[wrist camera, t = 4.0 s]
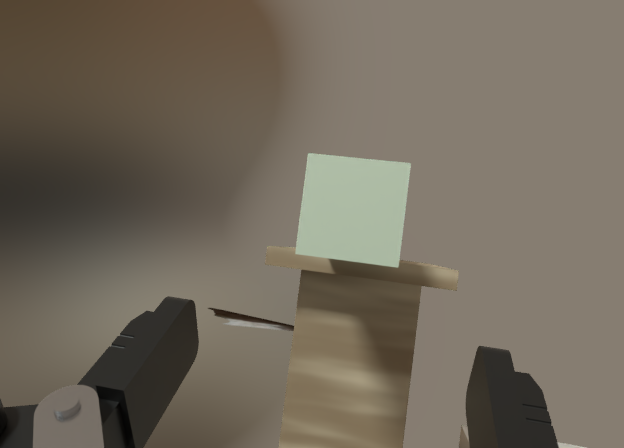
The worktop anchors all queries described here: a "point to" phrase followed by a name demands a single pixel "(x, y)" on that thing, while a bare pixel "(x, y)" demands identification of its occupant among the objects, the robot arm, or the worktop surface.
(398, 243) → the bar
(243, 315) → the worktop surface
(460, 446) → the pedestal
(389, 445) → the stand
